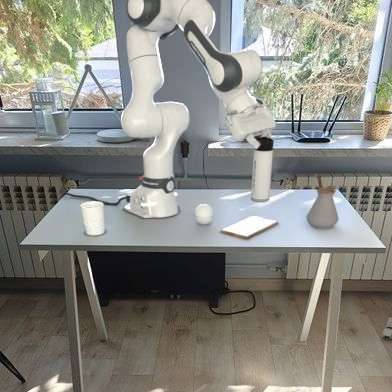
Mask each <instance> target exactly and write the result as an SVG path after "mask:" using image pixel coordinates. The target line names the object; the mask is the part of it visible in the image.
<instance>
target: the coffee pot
mask: <svg viewBox="0 0 392 392" xmlns="http://www.w3.org/2000/svg"><path fill="white" fill-rule="evenodd" d="M316 176H317V177H316ZM321 177H322V176H321V174H320V173H319V172H318V173H316V174H315V175H314V178H315V179H317V184H318V187H319V188H317V189H316V192H317V197H316V199H315V201H314V202H313V204H312V206H311V207H310V209H309V211H308V213H307V214H306V221H307V223H308V224H309V225H310V226H311V228H314V229H318V230H329V229H332V228H333V227H334V226H336V225H337V223H338V222H339V220H340V219H339V215H338V212H337V208H336V204H335V200H334V195H335V193H336V192H337V190H336V189H334V188H331V187H323V182H322V178H321Z"/></svg>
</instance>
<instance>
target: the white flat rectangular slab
mask: <svg viewBox="0 0 392 392" xmlns="http://www.w3.org/2000/svg"><path fill="white" fill-rule="evenodd" d="M278 223H279V222H278V220H275V219H270V218H267V217H266V218H265V217H261V216H257V215H253V214H252V215H251V216H248V217H246V218H244V219H242V220H239V221H237V222H235V223H233V224H231V225H229V226H226V227H224V228H222V229H221V233H222V234H226V235H230V236H232V237H233V236H234V237H237V238H240V239H244V240H248V239H250V238H252V237H254V236H256V235H259V234H260V233H262V232H264V231H267V230H268V229H270V228H272V227H274V226H276V225H278Z"/></svg>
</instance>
